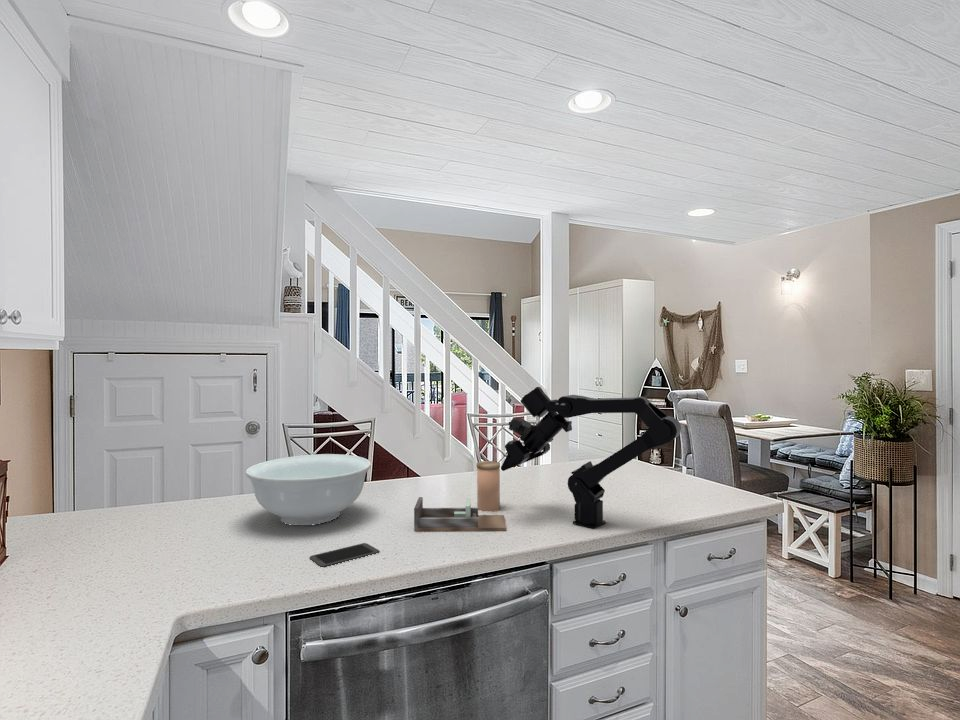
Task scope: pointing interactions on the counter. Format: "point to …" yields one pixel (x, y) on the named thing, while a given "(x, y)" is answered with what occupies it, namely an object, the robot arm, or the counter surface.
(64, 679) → the counter surface
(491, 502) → the jar
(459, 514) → the block
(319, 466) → the bowl
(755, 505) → the counter surface
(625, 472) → the counter surface
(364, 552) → the cell phone
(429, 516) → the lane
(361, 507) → the counter surface
